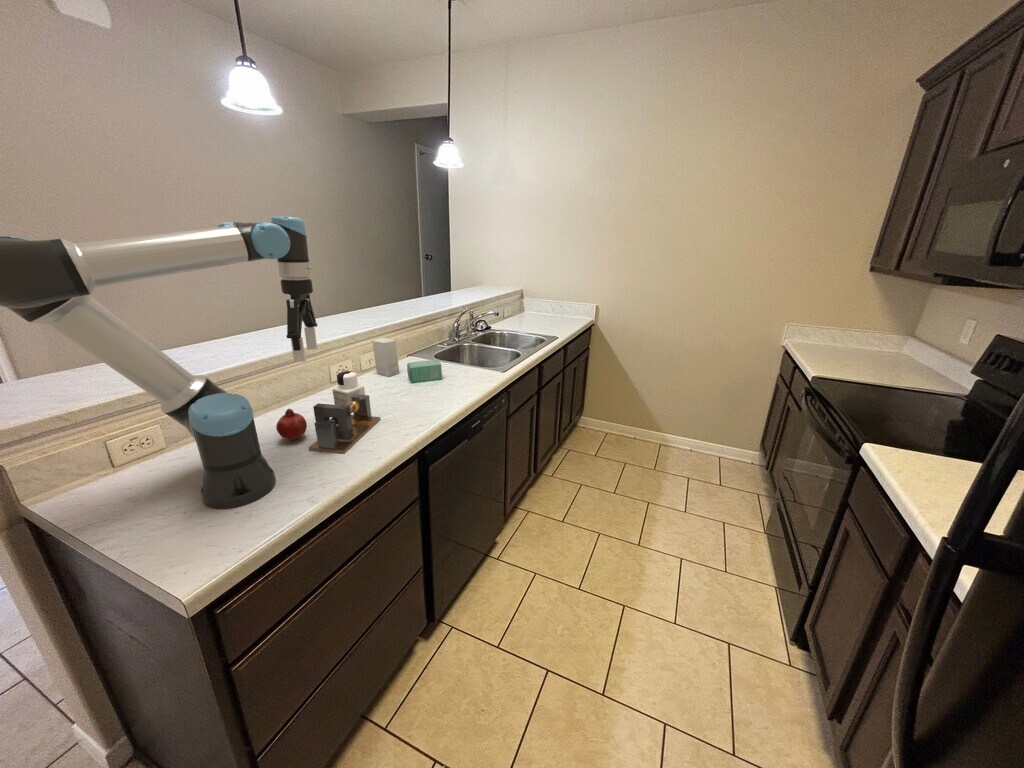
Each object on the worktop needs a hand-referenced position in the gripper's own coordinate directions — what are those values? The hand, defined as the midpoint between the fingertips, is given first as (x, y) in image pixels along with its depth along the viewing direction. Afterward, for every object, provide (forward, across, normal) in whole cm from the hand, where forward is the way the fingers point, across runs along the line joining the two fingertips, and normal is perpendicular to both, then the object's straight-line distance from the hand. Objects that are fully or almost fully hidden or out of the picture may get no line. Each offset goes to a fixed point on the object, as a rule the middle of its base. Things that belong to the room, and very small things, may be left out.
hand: (306, 354), depth 117 cm
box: (+25, +49, -33) cm, 64 cm away
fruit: (+27, +1, +7) cm, 28 cm away
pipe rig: (+26, +1, -8) cm, 28 cm away
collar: (+24, -4, -6) cm, 26 cm away
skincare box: (+25, +59, -16) cm, 67 cm away
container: (+26, +24, -6) cm, 36 cm away
